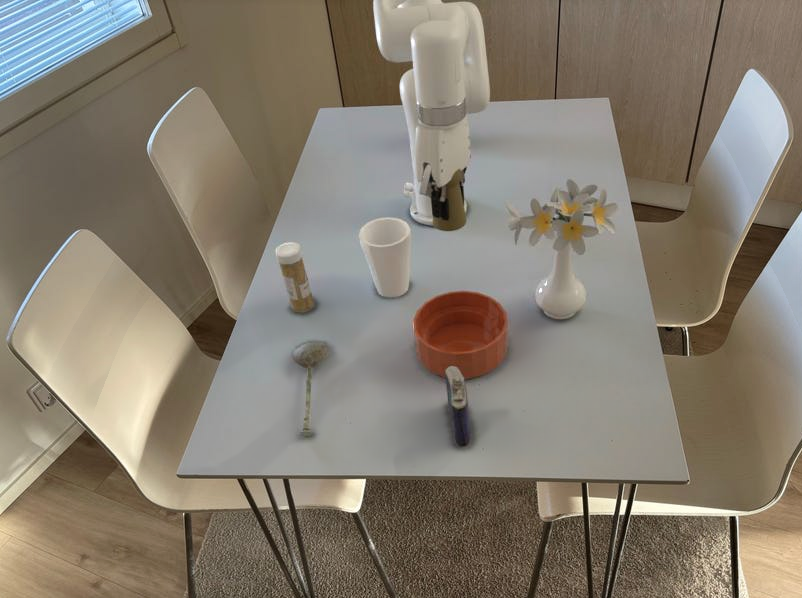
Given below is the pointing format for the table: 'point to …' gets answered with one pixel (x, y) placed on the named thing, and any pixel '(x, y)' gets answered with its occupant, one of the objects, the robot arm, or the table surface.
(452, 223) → the olive peg figure
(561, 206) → the flower vase
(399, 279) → the foam cup
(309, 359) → the soupspoon
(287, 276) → the sprinkles bottle
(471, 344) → the orange plant pot
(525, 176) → the table surface
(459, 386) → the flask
